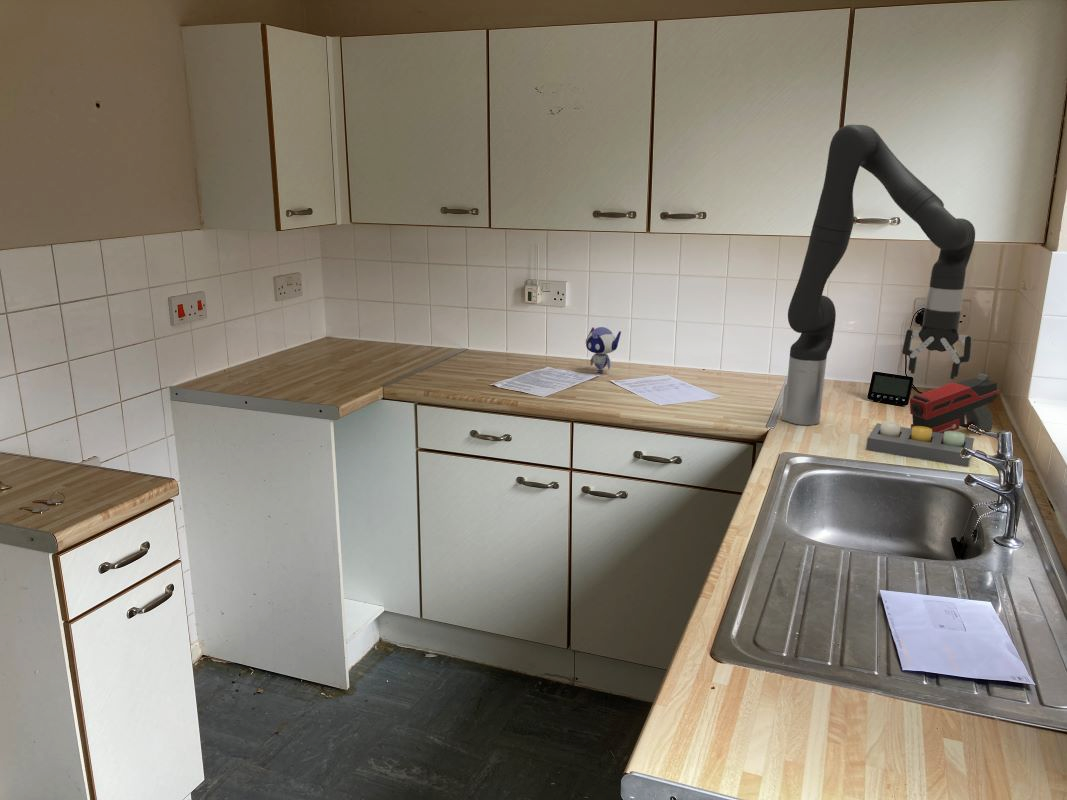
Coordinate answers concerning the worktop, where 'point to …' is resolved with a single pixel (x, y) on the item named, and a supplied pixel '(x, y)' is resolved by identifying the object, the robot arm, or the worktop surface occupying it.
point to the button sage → (953, 438)
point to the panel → (918, 446)
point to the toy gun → (955, 405)
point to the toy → (601, 346)
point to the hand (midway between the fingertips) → (932, 375)
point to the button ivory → (890, 428)
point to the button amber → (921, 433)
